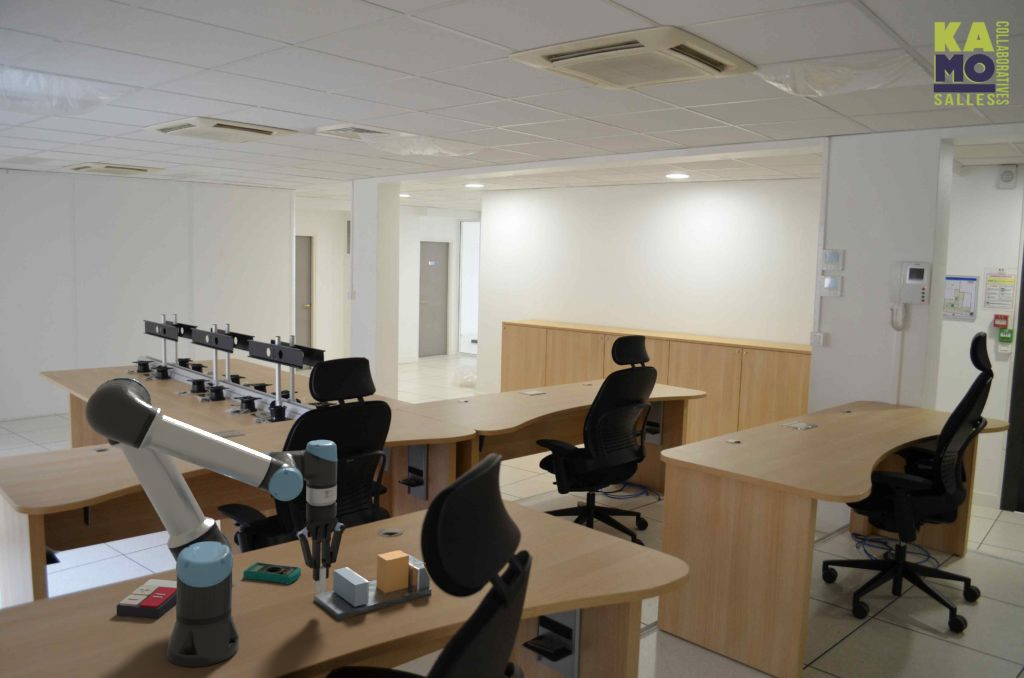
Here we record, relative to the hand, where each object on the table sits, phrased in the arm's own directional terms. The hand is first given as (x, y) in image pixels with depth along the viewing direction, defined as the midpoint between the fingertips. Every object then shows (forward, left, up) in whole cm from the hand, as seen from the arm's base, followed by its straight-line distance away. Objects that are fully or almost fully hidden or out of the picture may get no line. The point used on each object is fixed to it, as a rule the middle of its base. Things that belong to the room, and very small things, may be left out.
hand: (320, 591), depth 194 cm
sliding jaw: (+9, 0, -4) cm, 9 cm away
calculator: (-33, +27, -6) cm, 43 cm away
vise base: (+16, 0, -5) cm, 17 cm away
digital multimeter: (-1, +28, -6) cm, 29 cm away
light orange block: (+21, 0, -4) cm, 22 cm away
